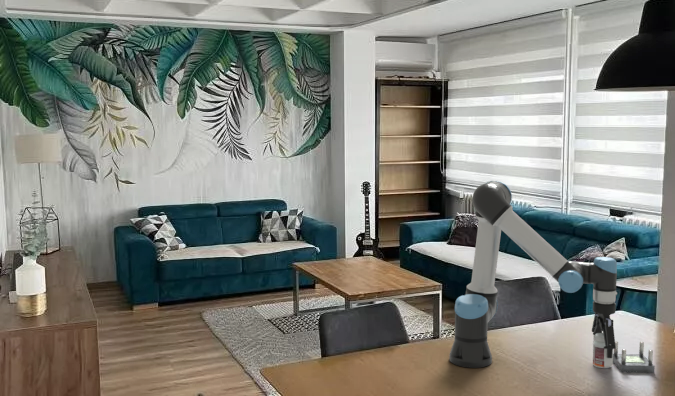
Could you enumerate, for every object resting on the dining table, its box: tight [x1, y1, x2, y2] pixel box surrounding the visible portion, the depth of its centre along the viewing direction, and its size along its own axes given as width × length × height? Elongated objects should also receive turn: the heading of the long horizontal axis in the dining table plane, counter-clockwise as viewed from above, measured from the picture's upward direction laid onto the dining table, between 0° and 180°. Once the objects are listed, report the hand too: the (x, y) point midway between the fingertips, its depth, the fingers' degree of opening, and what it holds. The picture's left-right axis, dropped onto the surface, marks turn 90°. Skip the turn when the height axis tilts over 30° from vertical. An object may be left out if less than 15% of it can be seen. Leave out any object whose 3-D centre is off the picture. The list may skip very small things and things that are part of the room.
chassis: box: [613, 340, 656, 374], centre depth 253 cm, size 11×12×8 cm
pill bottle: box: [592, 332, 611, 369], centre depth 254 cm, size 6×6×11 cm
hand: (602, 359), depth 254 cm, fingers open, 13 cm apart
